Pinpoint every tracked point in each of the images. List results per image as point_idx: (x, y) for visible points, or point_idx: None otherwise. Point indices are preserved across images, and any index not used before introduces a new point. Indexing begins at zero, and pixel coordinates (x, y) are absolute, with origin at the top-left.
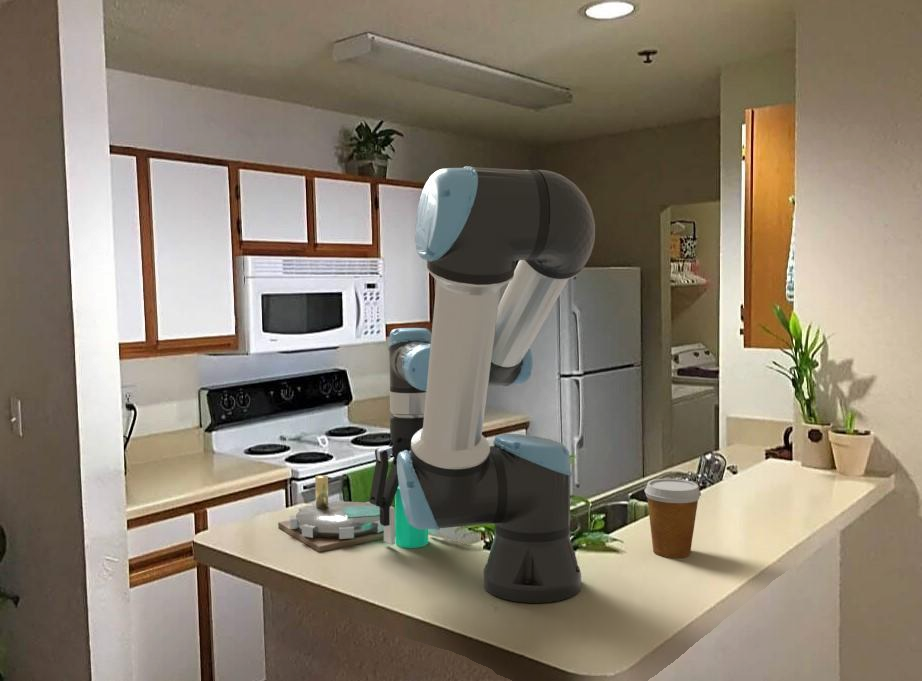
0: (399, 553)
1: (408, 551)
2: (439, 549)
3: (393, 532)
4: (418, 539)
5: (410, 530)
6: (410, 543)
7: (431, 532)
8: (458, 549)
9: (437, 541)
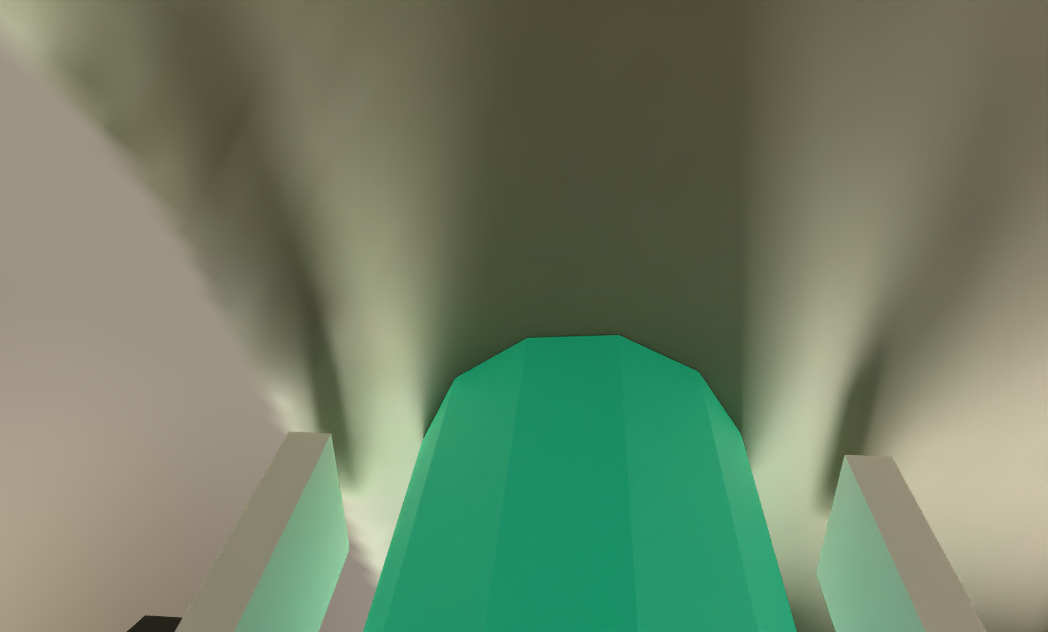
0: (892, 298)
1: (774, 295)
2: (458, 153)
3: (912, 553)
4: (613, 381)
5: (711, 492)
6: (691, 394)
7: (339, 503)
8: (261, 15)
9: (347, 369)
